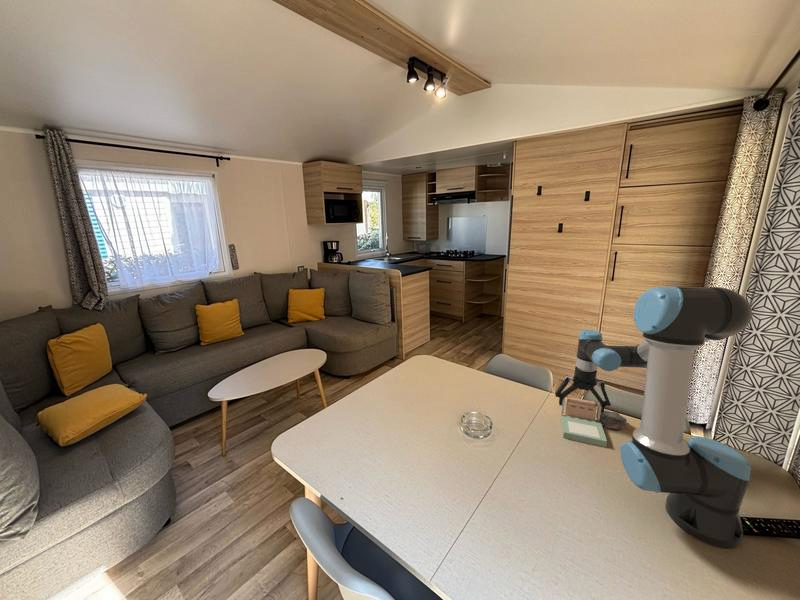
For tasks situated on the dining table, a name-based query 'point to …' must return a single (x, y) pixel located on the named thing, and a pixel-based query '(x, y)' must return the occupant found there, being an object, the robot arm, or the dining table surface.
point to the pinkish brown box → (580, 408)
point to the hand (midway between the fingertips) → (579, 415)
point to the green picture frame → (583, 430)
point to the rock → (612, 420)
